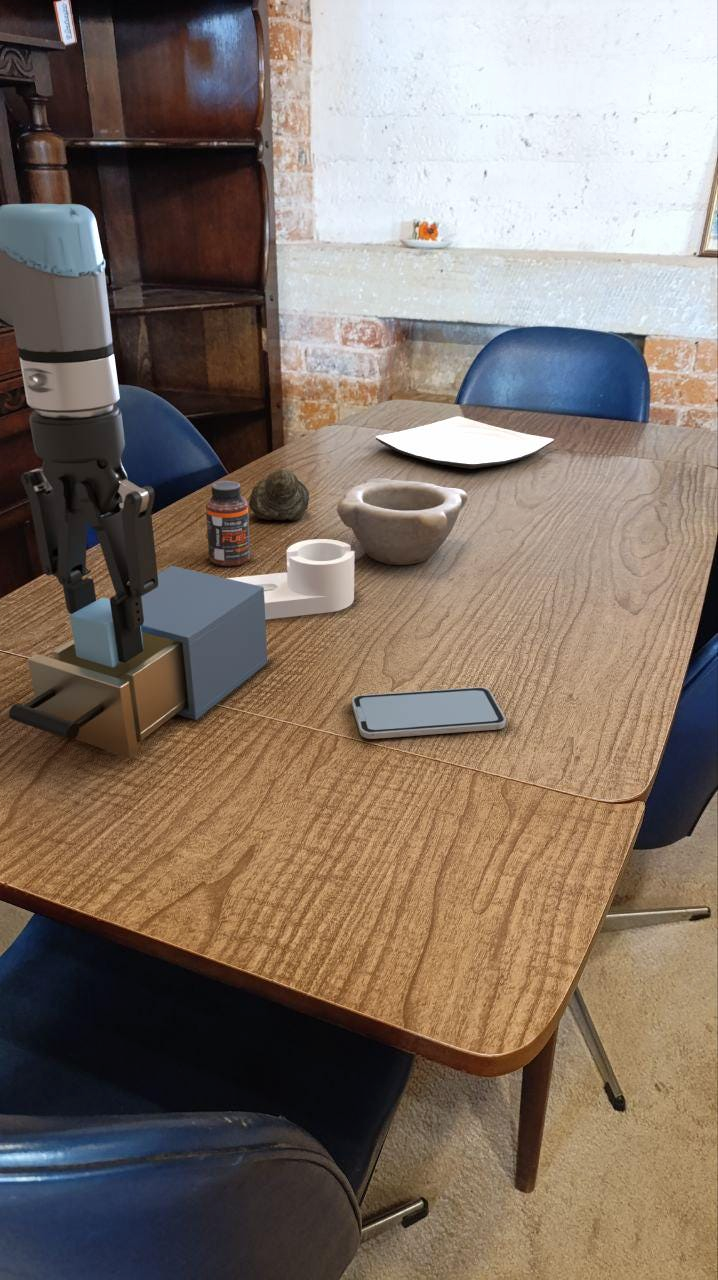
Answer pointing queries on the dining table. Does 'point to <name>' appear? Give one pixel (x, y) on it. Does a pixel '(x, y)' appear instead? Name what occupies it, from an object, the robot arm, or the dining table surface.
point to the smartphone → (427, 712)
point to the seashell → (279, 497)
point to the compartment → (209, 631)
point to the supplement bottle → (227, 525)
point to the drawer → (106, 695)
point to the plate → (464, 443)
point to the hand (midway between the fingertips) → (109, 649)
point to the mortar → (400, 518)
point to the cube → (95, 633)
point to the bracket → (309, 580)
